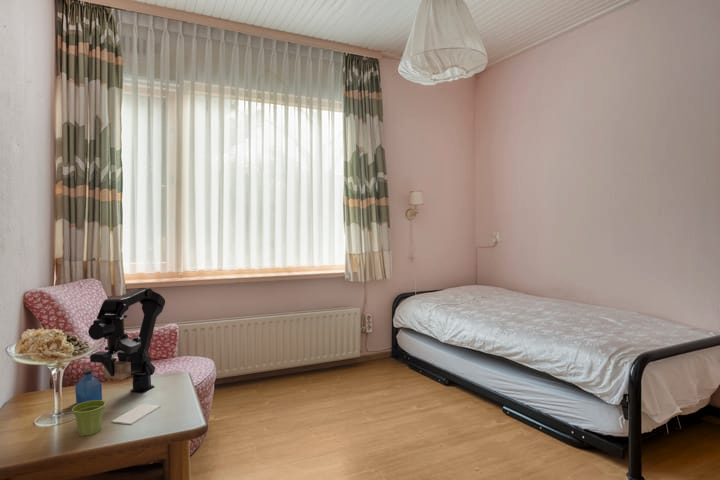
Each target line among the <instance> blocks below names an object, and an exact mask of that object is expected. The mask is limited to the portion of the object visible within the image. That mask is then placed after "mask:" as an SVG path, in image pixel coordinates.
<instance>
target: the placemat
mask: <svg viewBox="0 0 720 480" xmlns="http://www.w3.org/2000/svg"><path fill="white" fill-rule="evenodd" d="M160 407H161V405H155V404H147V403H145V404H144V403H141V404H139V405H138V406H136V407H135V408H132V409H130V410H129V411H127V412H126V413H123V414H122V415H120V416H118V417H116V418H115V419H113V420H112V421H111V423H114V424H115V423H116V424H125V425H130V426H131V425H133V424H135V423H136V422H138V421H139V420H141V419H143V418H144V417H146V416H148V415H149V414H151V413H154V411H157V408H158V409H160Z"/></svg>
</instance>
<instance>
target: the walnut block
mask: <svg viewBox="0 0 720 480" xmlns="http://www.w3.org/2000/svg"><path fill="white" fill-rule="evenodd" d="M103 369H104V378H107V379H114V380H121V381H122V380H124V379H126V378H129V377H132V376H131V362H124V361H119V360H116V361H115V362H114V376H111V375H110V374H109V372H108V371H107V369H106V368H105V366H104V365H103Z"/></svg>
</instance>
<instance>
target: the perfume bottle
mask: <svg viewBox="0 0 720 480" xmlns="http://www.w3.org/2000/svg"><path fill="white" fill-rule="evenodd" d="M81 376H82V378H83V379H82V378H81V379H80V380H78V381H77V383H76V385H75V387H74V388H75V402H76V404H77V405H78V404H80V403H83V402H87V401H92V400H103V390H102V383H101V382H100V380H98V378H97V377H94V372H93V368H90V369H84V370H82V375H81Z"/></svg>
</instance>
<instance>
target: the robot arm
mask: <svg viewBox="0 0 720 480" xmlns="http://www.w3.org/2000/svg"><path fill="white" fill-rule="evenodd" d="M137 303H140V305H141V311H142V313H143V318H142V321H141V326H140V330H139V334H138V336H136V337H134V338H129V335H128V333H125V321H124V320H125V319H126V318H128V315H126V312H127V311H128V310H129V307H131V306H132V305H134V304H137ZM165 305H166V299H165V298H164V297H163V296H162V295H161V294H160V293H158V292H155V291H153V290H152V288H149V287H139V288H137V289H135V290H133V291H132V292H129V293H127V294H124V295H123V296H119V297H110V298H105V300H104V301H103V303H102V304H101V307H100V309H99V312H98V314H97V316H96V319H94V320H93V323H92V324H91V325H90V326H89V328H88V331H87V333H88V335H89V337H90V338H91V339H92V340H95V341H99V340H101V339H103V338H104V340H106V341H107V346H105V347H104V351H103V350H102V351H101V350H99V351H96V352H94V353H91V355H89V362H90V363H97V364H98V363H99V364H100V363H101V364H102V365H103V367H104V366H105V368H106V369H107V371H108V372H109V374H110V375H111V376H114V362H115V361H124V362H131V376H130V377H132V388H131V389H130V390H129V392H134V393H145V392H147V391H149V390H151V389H153V388H154V387H155V385H153V384H152V379H151V378H152V377H151V376H153V375H154V374H155V372H156V366H154V364H153V363H152V362H151V359H152V357H151V355H150V352H149V350H150V346H151V343H152V339H153V334H154V330H155V327H156V321H157V318H158V317H159V316H160V315H161V313H163V310H164V307H165ZM116 354H117V357H115V355H116Z"/></svg>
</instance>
